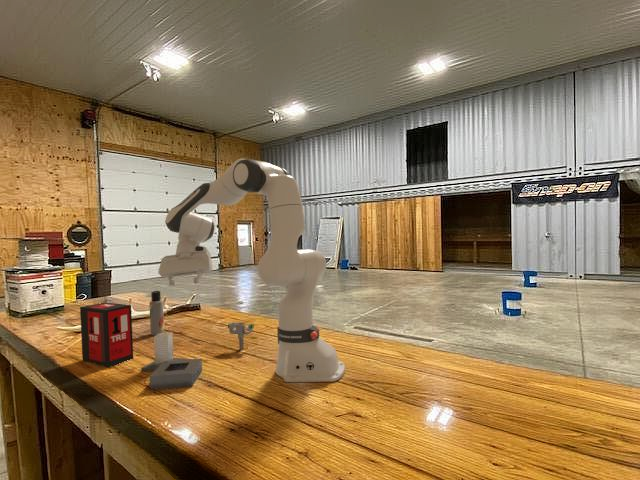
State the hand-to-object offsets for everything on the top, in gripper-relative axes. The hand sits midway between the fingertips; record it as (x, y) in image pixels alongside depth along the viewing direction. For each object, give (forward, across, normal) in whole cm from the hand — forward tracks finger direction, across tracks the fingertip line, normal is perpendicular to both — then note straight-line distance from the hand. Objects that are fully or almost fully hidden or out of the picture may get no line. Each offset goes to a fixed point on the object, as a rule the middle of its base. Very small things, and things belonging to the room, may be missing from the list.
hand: (183, 284), depth 129 cm
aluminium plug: (+28, -4, +3) cm, 29 cm away
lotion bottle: (+5, -25, +37) cm, 45 cm away
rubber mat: (+29, -5, +4) cm, 30 cm away
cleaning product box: (+23, -29, +10) cm, 38 cm away
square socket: (+36, +4, -6) cm, 37 cm away
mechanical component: (+23, +19, +16) cm, 34 cm away
